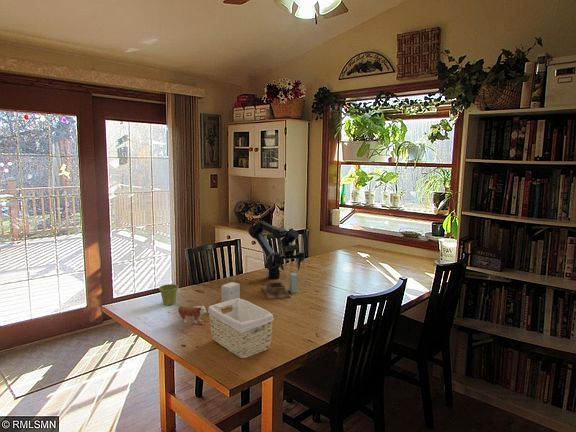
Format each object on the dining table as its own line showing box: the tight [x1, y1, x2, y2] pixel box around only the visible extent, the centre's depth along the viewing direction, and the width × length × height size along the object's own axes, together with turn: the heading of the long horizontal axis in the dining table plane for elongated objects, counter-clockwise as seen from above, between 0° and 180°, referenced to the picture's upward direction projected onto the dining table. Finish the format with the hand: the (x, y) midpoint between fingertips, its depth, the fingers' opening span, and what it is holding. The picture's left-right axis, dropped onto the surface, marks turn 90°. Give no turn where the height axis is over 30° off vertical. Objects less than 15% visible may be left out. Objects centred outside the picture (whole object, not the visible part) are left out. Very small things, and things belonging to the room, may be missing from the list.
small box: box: [220, 281, 241, 309], centre depth 203 cm, size 8×6×10 cm
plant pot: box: [158, 283, 179, 306], centre depth 203 cm, size 9×9×9 cm
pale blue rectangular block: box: [288, 272, 298, 294], centre depth 224 cm, size 3×5×10 cm, turn 14°
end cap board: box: [261, 281, 291, 300], centre depth 221 cm, size 12×18×4 cm, turn 14°
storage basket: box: [207, 298, 275, 359], centre depth 159 cm, size 24×16×15 cm
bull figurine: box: [178, 305, 208, 324], centre depth 180 cm, size 4×13×8 cm, turn 80°
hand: (291, 270), depth 228 cm, fingers open, 9 cm apart
